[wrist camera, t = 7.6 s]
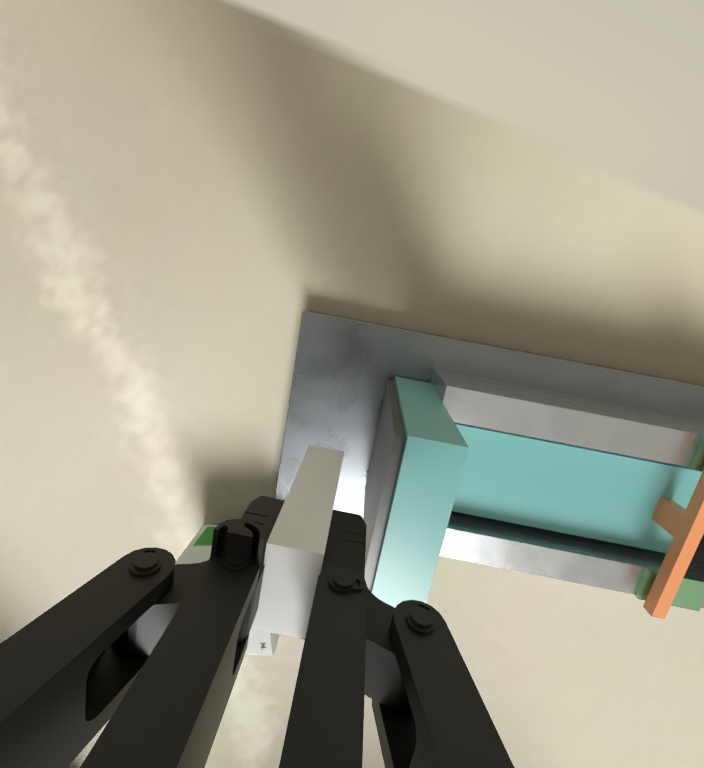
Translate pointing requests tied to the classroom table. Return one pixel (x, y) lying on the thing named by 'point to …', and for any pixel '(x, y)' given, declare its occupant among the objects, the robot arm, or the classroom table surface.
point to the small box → (201, 552)
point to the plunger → (512, 495)
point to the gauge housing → (498, 412)
